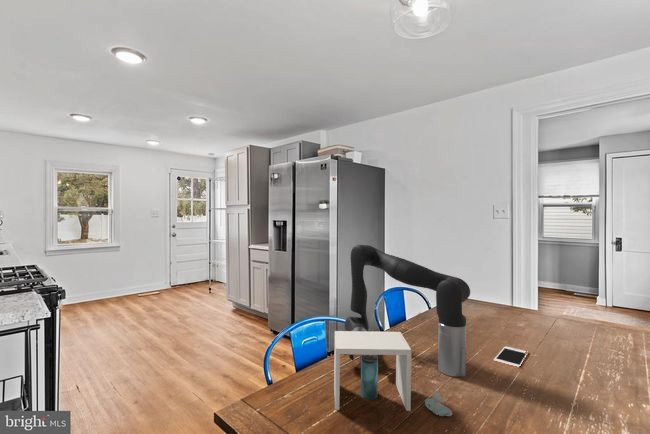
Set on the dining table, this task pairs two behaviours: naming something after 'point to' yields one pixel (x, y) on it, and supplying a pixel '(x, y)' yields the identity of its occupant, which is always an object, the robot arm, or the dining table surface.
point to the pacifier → (437, 405)
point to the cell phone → (511, 356)
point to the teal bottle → (369, 376)
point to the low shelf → (375, 346)
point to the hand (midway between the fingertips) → (365, 357)
